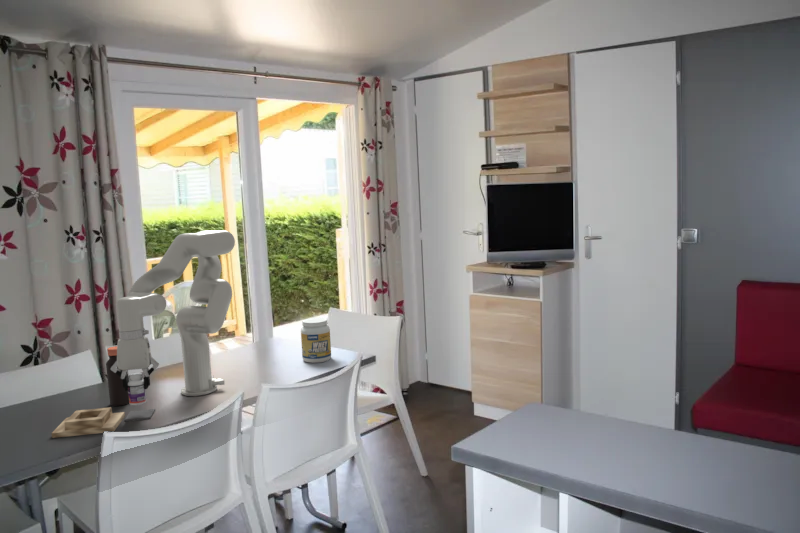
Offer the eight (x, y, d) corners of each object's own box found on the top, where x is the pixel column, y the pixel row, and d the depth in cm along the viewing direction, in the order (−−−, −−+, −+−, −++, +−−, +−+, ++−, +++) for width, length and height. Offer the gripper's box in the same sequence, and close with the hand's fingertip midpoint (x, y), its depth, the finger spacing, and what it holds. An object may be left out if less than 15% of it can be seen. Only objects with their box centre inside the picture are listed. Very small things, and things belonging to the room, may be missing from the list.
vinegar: (118, 407, 229) (112, 351, 226) (106, 404, 232) (100, 349, 230) (135, 401, 234) (129, 346, 232) (123, 399, 238) (117, 344, 235)
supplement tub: (309, 365, 271) (306, 324, 269) (298, 359, 281) (295, 320, 279) (336, 360, 277) (333, 320, 275) (324, 354, 287) (322, 315, 285)
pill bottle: (132, 401, 220) (130, 372, 220) (149, 400, 221) (146, 371, 220) (127, 406, 215) (124, 376, 214) (144, 405, 215) (141, 375, 215)
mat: (155, 410, 224) (155, 408, 223) (150, 418, 216) (150, 417, 216) (130, 413, 222) (130, 411, 222) (124, 421, 214) (124, 419, 214)
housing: (125, 416, 219) (123, 404, 219) (113, 431, 206) (112, 419, 205) (67, 421, 216) (65, 410, 216) (52, 437, 203) (50, 425, 202)
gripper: (161, 330, 220) (166, 383, 223) (107, 334, 218) (112, 387, 220) (157, 335, 213) (162, 389, 215) (100, 339, 210) (106, 394, 213)
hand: (137, 388), depth 218 cm, fingers closed on pill bottle, 5 cm apart
